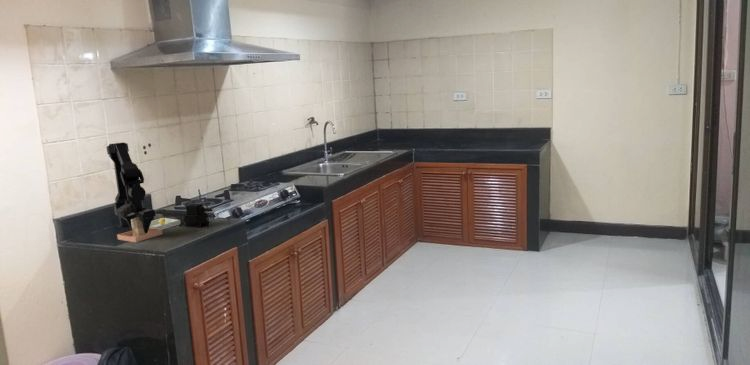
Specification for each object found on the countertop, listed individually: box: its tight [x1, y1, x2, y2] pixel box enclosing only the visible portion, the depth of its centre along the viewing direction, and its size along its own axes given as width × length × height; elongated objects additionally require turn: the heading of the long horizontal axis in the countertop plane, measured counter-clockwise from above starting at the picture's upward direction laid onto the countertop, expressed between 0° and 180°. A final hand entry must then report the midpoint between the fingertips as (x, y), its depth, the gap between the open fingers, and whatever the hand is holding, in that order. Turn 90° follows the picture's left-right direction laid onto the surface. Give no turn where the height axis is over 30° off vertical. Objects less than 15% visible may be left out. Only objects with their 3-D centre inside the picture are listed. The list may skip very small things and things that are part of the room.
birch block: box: [131, 216, 147, 237], centre depth 257 cm, size 4×4×8 cm
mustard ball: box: [158, 217, 166, 225], centre depth 277 cm, size 3×3×3 cm
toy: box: [182, 203, 213, 229], centre depth 268 cm, size 8×14×10 cm, turn 66°
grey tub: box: [149, 217, 181, 231], centre depth 273 cm, size 13×13×2 cm
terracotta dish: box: [116, 228, 163, 243], centre depth 257 cm, size 13×13×2 cm
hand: (139, 232), depth 257 cm, fingers open, 9 cm apart
